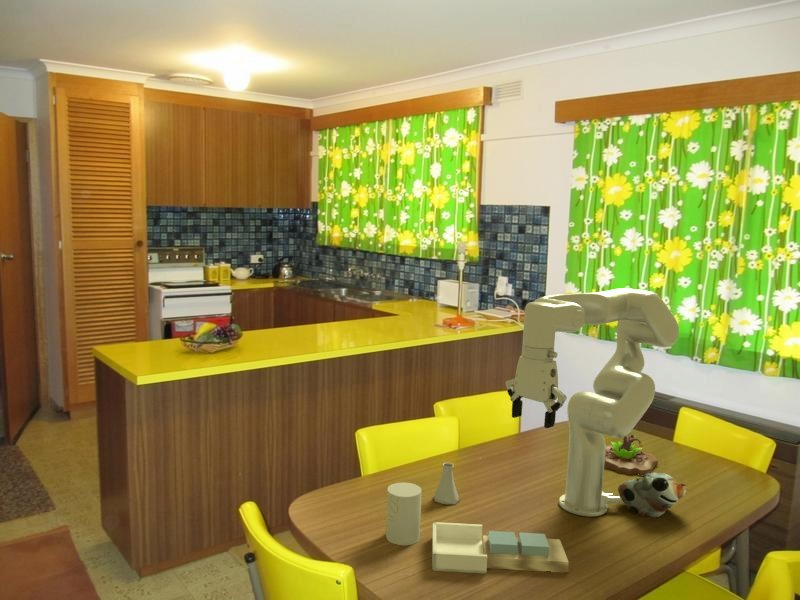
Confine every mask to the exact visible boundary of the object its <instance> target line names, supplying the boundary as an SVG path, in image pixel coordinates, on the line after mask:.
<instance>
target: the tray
mask: <svg viewBox="0 0 800 600" xmlns="http://www.w3.org/2000/svg"><path fill="white" fill-rule="evenodd" d="M431 532H432V533H431V534H432V535H431V537H432V539H431V540H432V541H431V542H432V544H431V545H432V546H431V547H432V548H431V549H432V551H431V557H432V562H431V563H432V564H431V568H432V571H433V572H450V573H451V572H452V573H470V574H487V572H488V570H487V569H488V568H487V555H485V554H484V551H483V524H474V523H460V522H459V523H456V522H440V521H433V522H432V531H431Z"/></svg>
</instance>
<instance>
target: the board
mask: <svg viewBox="0 0 800 600" xmlns="http://www.w3.org/2000/svg"><path fill="white" fill-rule="evenodd" d="M515 537H516V540H517V544H518V550H517V555H516V554H498V553H490V548H489V543H488V535H483V534H482V545H483V551H484V554H485V555H487V569H497V570H510V571H511V570H514V571H531V572H532V571H533V572H546V571H551V572H550V573H564V572H568V573H569V563H570V562H569V559H568V556H567V554H566V552H565V549H564V547H563V544H562V542H561V539H558V538H557V539H556V538H546V539H547V542H548V545H549V556H534V555H522V554H521V550H520V546H519V543H518V536H515Z"/></svg>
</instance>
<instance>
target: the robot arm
mask: <svg viewBox="0 0 800 600" xmlns="http://www.w3.org/2000/svg"><path fill="white" fill-rule="evenodd" d="M615 322H617V325H616V349H615V352H614V353H613V355H612V356H611V357H610V359H608V362H607V363H606V364H605V365H604V366H603V367H602V369H601V370H600V372H599V373H598V374H597V375H596V377H595V378H594V381H593V384H592V389H593V391H594V392H591V391H579V392H576V393H573V394H572V396H571V397H570V398H569V400H568V402H567V408H566V409H567V413H566V414H567V420H568V421H567V422H568V427H569V428H568V430H569V433H568V434H569V438H568V439H569V440H568V450H567V451H568V453H567V454H568V455H567V465H566V466H567V468H566V481H565V482H566V483H565V493H564V494H562V495H561V496H560V497H559V498H558V499H559V500H558V504H559V506H560V507H561V508H562V509H563V510H564V511H566V512H568V513H571V514H573V515H577V516H581V517H599V516H602V515H605V514H606V513H607V511H608V504H613V505H614V504H617V505H618V504H619V505H620V504H621V496H620V495H618V496H616V495H614V494H613V493H610V492H604V490H603V488H604V475H605V473H604V472H605V468H604V464H605V453H606V445H607V444H606V439H605V437H604V435H605V436H608V437H611V438H615V439H622V438H623V439H624V437H625V436H626V437H627V436H629V434H630V433H631V432H632V430H633V429H634V428H635V427H636V425H637V424H638V422H639V421H640V420H641V419H642V418H643V416H644V414H646V412H647V411H648V410H649V407H650V406H651V404H652V403H653V401H654V398H655V394H656V384H655V382H654V380H653V378H652V377H651V376H650V375H648V374H647V373H644V372H642V371H643V369H644V367H645V358H644V354H643V352H642V349H641V345H640V344H644V345H649V346H654V347H658V348H669V347H672V346H674V345H675V343H677V341H678V339H679V335H680V327H679V323H678V321H677V319H676V317H675V315H673V313H672V311H671V310H670V308H669V307H668V305H667V304H666V302H664V300H663V299H662V298H661V297H660V296H659V295H658V294H657V293H656V292H653V291H649V290H641V289H634V288H622V287H621V288H614V289H610V290H609V289H608V290H604V291H596V292H582V293H567V294H566V293H564V294H563V293H561V294H552V295H547V296H541V297H538V298H537V299H535V300H534V301H532V302H531V301H530V302H528V303H526V305H525V307H524V319H523V333H522V346H521V347H522V348H521V355H520V356H519V358H518V360H517V366H516V371H515V376H514V378H512V379H508V380H506V381H505V383H504V385H505V387H506V389H507V390H506V391H507V394H508V396H509V397H510V398H509V400H510V401H511V404H512V405H511V418H513V419H515V418H519V417H522V415H523V413H522V412H523V400H521V399H522V398H525V399H528V400H531V401H535V402H539V403H543V404H544V407H545V408H546V411H545V412H544V425H543V427H544V429H550V428H553V427H554V426H555V424H556V412H557V411H559V409H560V408H562V407H563V406H564V403H565V402H566V401H567V398H568V397H567V395H566V394H565V393H564V392H562V390H560V389H559V375H558V366H557V361H556V360H554V359H556V358H557V357H558V352H555V340H556V332H560V333H570V334H571V333H575V332H578V331H580V330H581V329H582V328H583V327H584V325H587V326H589V325H590V326H592V325H593V326H600V325H606V324H609V323H615Z"/></svg>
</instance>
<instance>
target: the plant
mask: <svg viewBox="0 0 800 600" xmlns="http://www.w3.org/2000/svg"><path fill="white" fill-rule="evenodd" d="M622 440H623V441H621V440H618V443H617V442H615V441H612V440H611V441H610V443H611V444H610V445H608V444H606V453H605V464H604V469H607V468H608V469H607V470H611V471H615V472H617V473H619V474H624V473H625V474H624V475H627V474H633V475H637V474H639V475H645V474H646V473H651V472H652V473H653V470H654V469H655V468H656V467H655V466H657V465H658V466H659V464H658V463H659V460H658V458H657V457H656V456H655V455H653V453H648V452H645V451H644V450H642V449H643V446H644V443H643V441H641V440H640V439H639V438H636V436H635V435H634V434H632V433H631V434H630V435H629V434H628V437H627V435H626V436H625V437H623V439H622ZM634 441H638V445H639V447H636V448H634V447H635V443H634ZM658 466H657V467H658ZM654 467H655V468H654ZM653 468H654V469H653ZM652 469H653V470H652ZM639 475H638V476H639Z"/></svg>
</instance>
